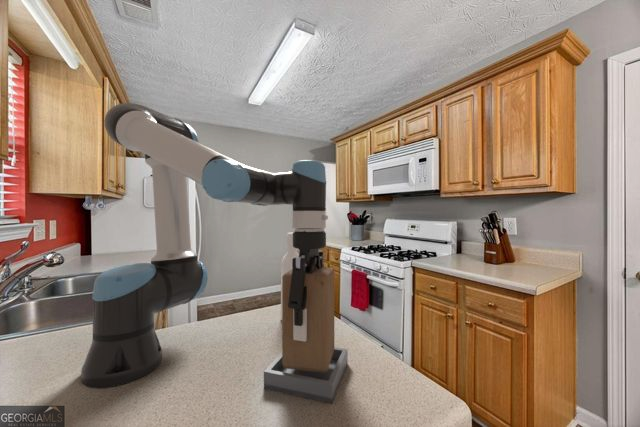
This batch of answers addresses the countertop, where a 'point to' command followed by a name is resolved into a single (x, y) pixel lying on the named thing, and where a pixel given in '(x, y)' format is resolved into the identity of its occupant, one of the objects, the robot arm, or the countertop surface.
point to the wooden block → (310, 323)
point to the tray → (307, 378)
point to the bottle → (288, 260)
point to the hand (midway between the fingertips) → (309, 329)
